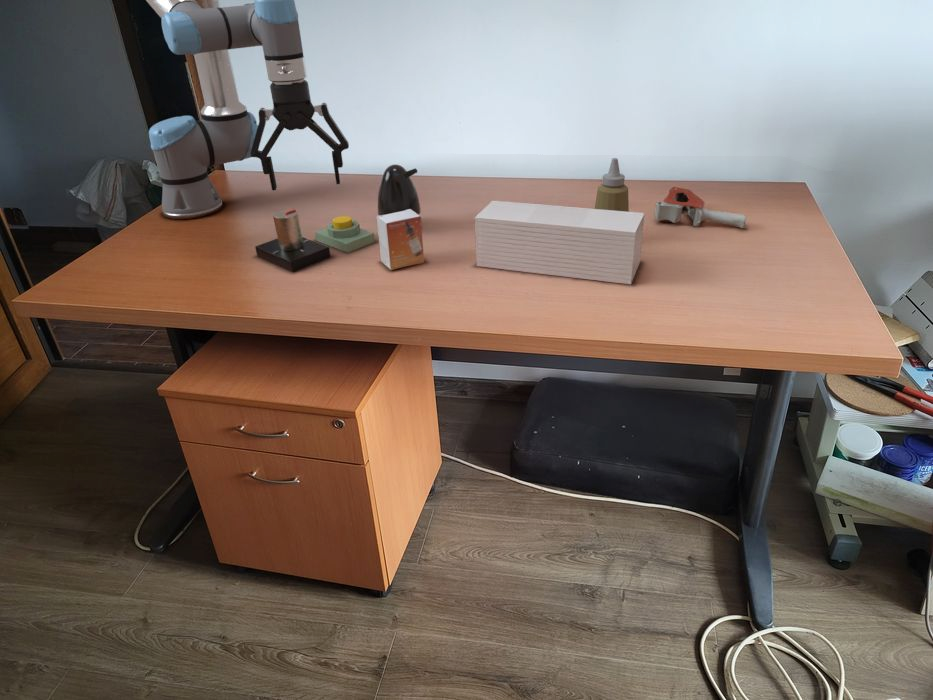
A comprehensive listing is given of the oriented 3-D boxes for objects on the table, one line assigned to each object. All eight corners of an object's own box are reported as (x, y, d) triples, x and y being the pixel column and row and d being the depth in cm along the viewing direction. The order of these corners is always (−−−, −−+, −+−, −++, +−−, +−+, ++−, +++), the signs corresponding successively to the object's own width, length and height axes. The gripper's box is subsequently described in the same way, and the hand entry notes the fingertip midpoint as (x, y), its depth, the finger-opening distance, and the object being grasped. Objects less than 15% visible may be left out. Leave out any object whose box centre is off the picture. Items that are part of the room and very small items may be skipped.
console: (257, 256, 151) (254, 245, 149) (294, 243, 157) (292, 232, 155) (292, 272, 142) (290, 261, 141) (330, 257, 148) (328, 246, 147)
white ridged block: (639, 263, 138) (644, 212, 133) (630, 284, 130) (635, 232, 124) (493, 247, 149) (492, 200, 143) (476, 266, 141) (474, 217, 135)
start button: (329, 227, 154) (328, 220, 153) (344, 221, 157) (343, 214, 156) (341, 231, 152) (340, 224, 151) (356, 225, 154) (355, 218, 153)
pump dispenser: (416, 235, 157) (410, 171, 149) (374, 234, 159) (366, 171, 151) (427, 220, 165) (422, 158, 158) (387, 219, 167) (380, 158, 160)
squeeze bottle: (631, 235, 151) (638, 155, 142) (623, 248, 145) (629, 165, 136) (596, 231, 154) (601, 152, 145) (586, 243, 148) (590, 162, 139)
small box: (390, 271, 140) (385, 223, 135) (380, 262, 145) (375, 215, 139) (425, 262, 143) (421, 215, 138) (414, 254, 148) (410, 208, 142)
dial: (288, 252, 145) (281, 218, 141) (275, 247, 148) (268, 213, 144) (308, 245, 148) (302, 211, 144) (294, 240, 151) (288, 206, 147)
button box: (316, 240, 157) (313, 224, 155) (343, 230, 162) (340, 214, 160) (347, 252, 150) (345, 236, 148) (375, 241, 155) (373, 225, 153)
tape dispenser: (749, 235, 152) (698, 203, 168) (755, 213, 149) (702, 182, 165) (682, 244, 147) (635, 210, 163) (687, 221, 144) (639, 189, 160)
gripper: (221, 89, 129) (245, 196, 140) (351, 79, 132) (365, 185, 143) (227, 82, 135) (249, 185, 146) (351, 73, 138) (363, 175, 149)
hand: (306, 185), depth 145 cm, fingers open, 13 cm apart
